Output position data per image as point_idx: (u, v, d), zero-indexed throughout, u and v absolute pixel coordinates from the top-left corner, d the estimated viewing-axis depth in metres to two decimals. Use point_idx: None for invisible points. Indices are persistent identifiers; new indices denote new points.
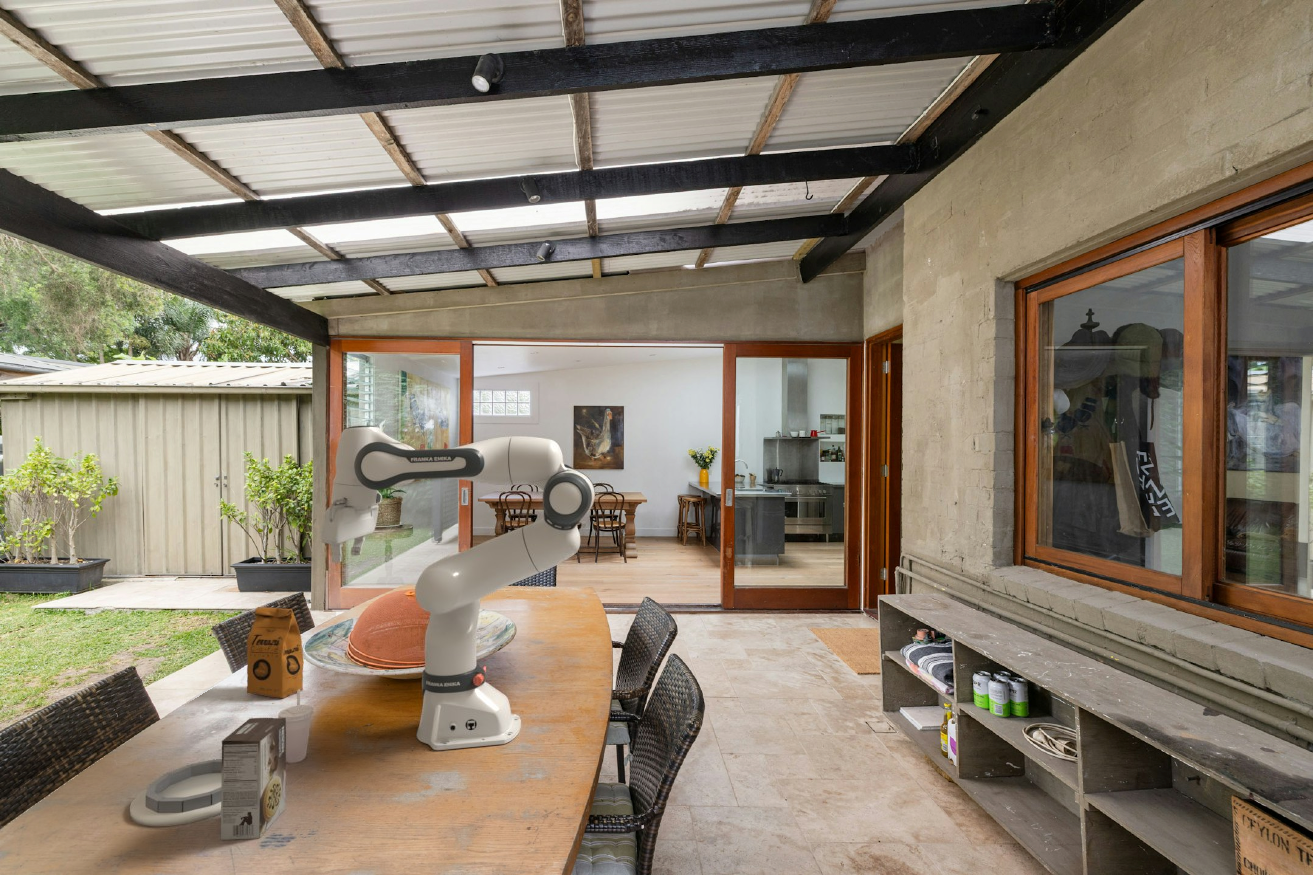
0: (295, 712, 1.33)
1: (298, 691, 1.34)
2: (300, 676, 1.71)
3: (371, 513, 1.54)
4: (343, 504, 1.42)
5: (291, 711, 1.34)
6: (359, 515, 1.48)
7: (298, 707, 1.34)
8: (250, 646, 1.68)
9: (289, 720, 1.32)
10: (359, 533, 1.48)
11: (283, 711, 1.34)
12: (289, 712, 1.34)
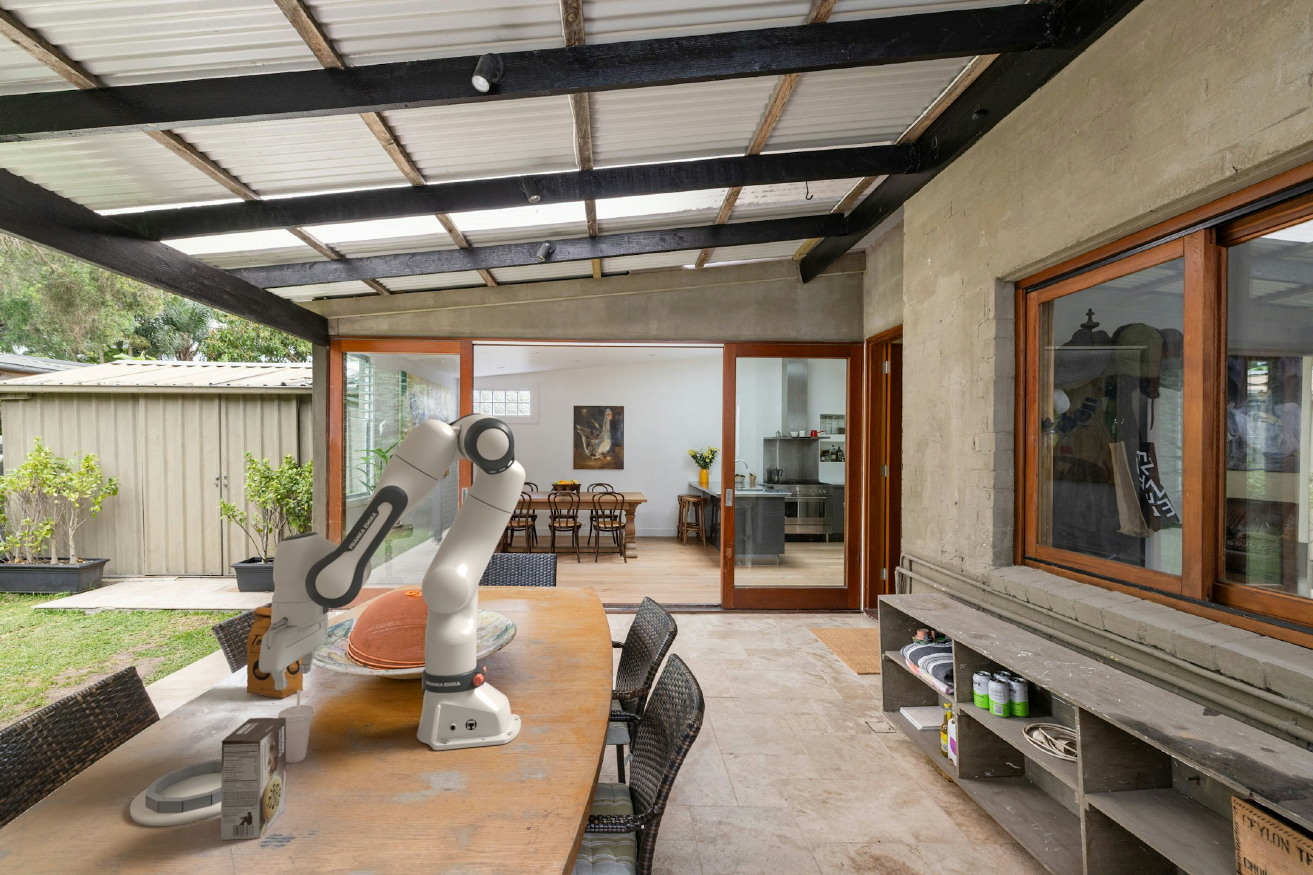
0: (295, 712, 1.33)
1: (298, 691, 1.34)
2: (300, 676, 1.71)
3: (320, 624, 1.42)
4: (283, 625, 1.29)
5: (291, 711, 1.34)
6: (304, 631, 1.35)
7: (298, 707, 1.34)
8: (250, 646, 1.68)
9: (289, 720, 1.32)
10: (306, 651, 1.36)
11: (283, 711, 1.34)
12: (289, 712, 1.34)
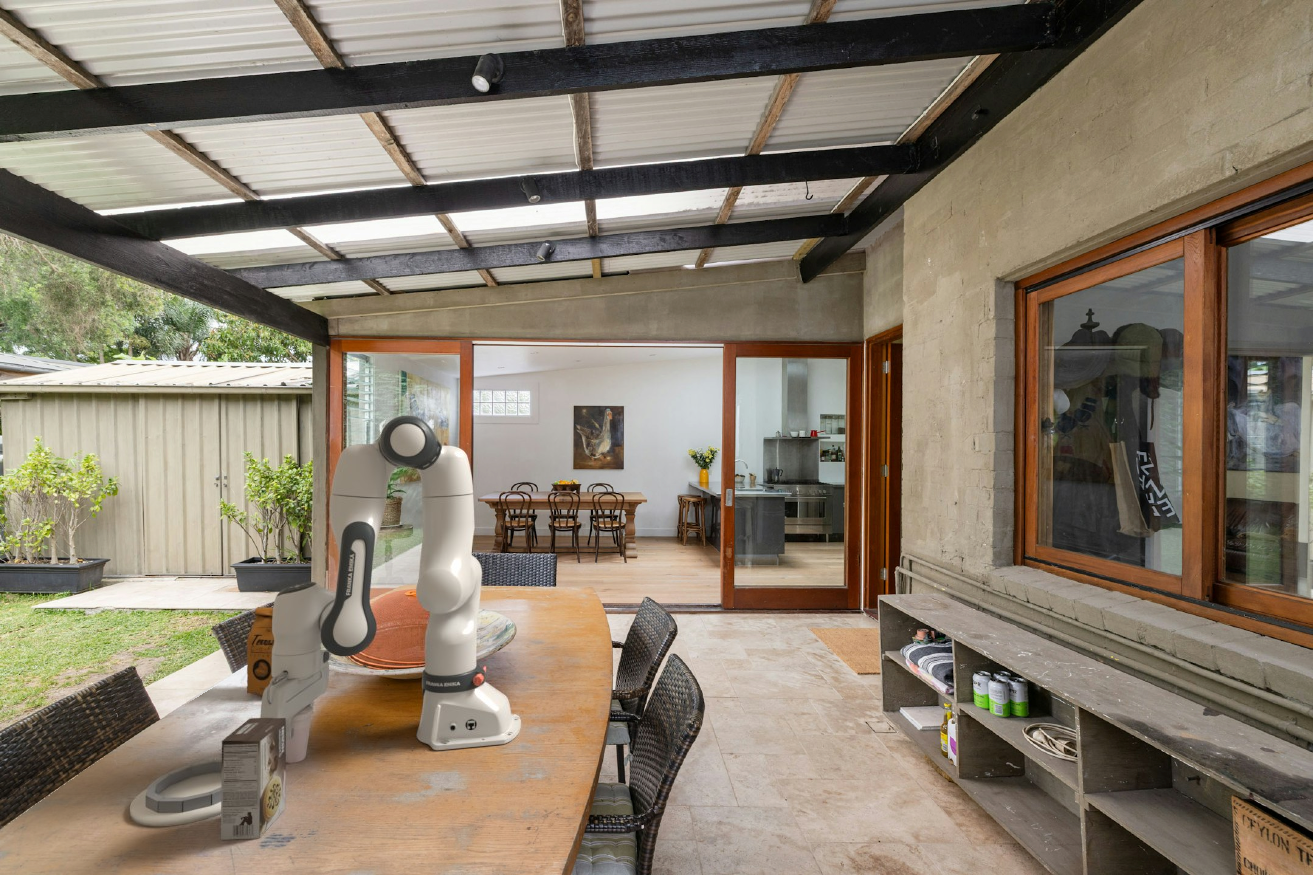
0: None
1: None
2: None
3: (321, 672, 1.42)
4: (283, 679, 1.29)
5: None
6: (305, 682, 1.35)
7: None
8: (250, 646, 1.68)
9: None
10: (307, 701, 1.36)
11: None
12: None
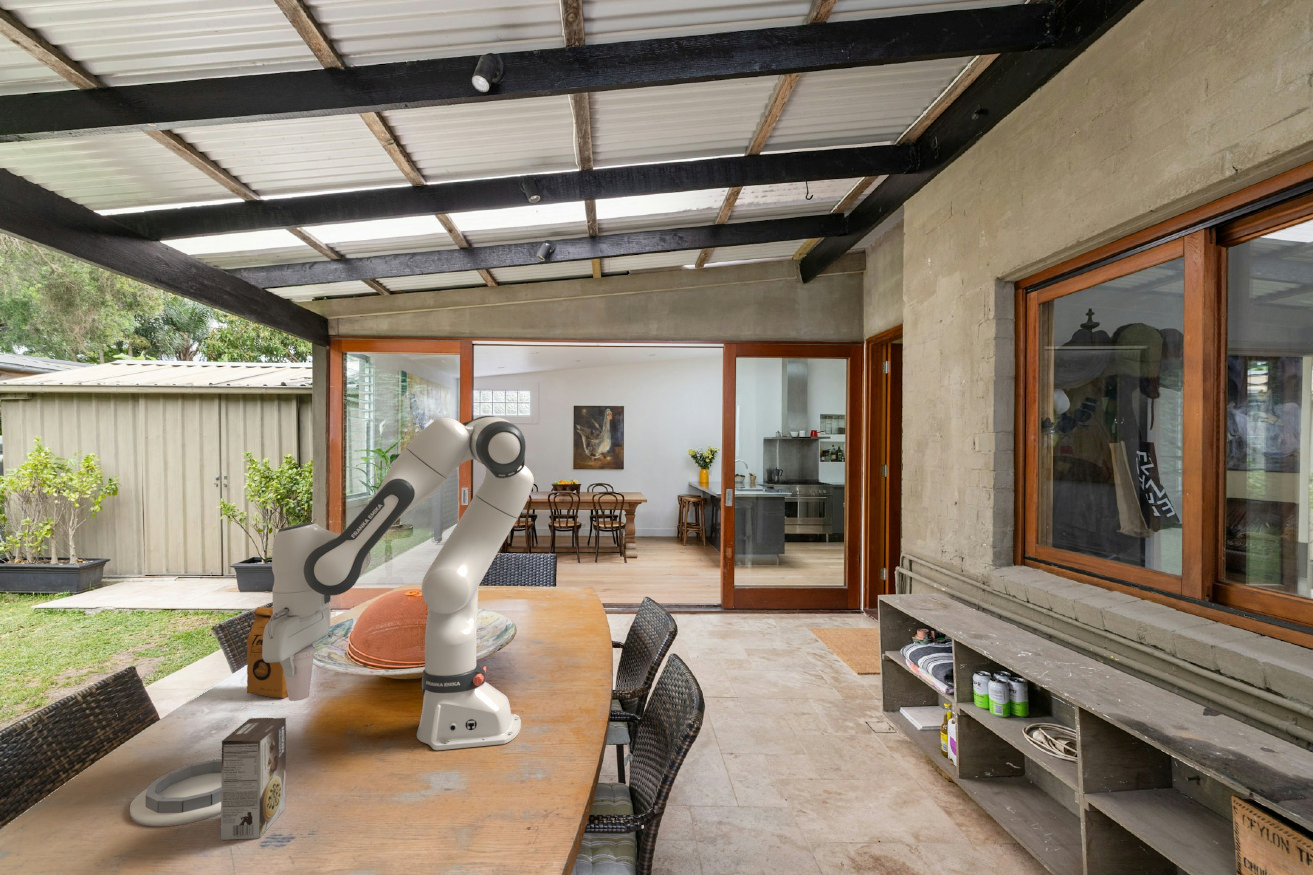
0: None
1: None
2: None
3: (322, 614, 1.42)
4: (284, 615, 1.29)
5: None
6: (306, 621, 1.35)
7: None
8: (250, 646, 1.68)
9: None
10: (309, 640, 1.36)
11: None
12: None
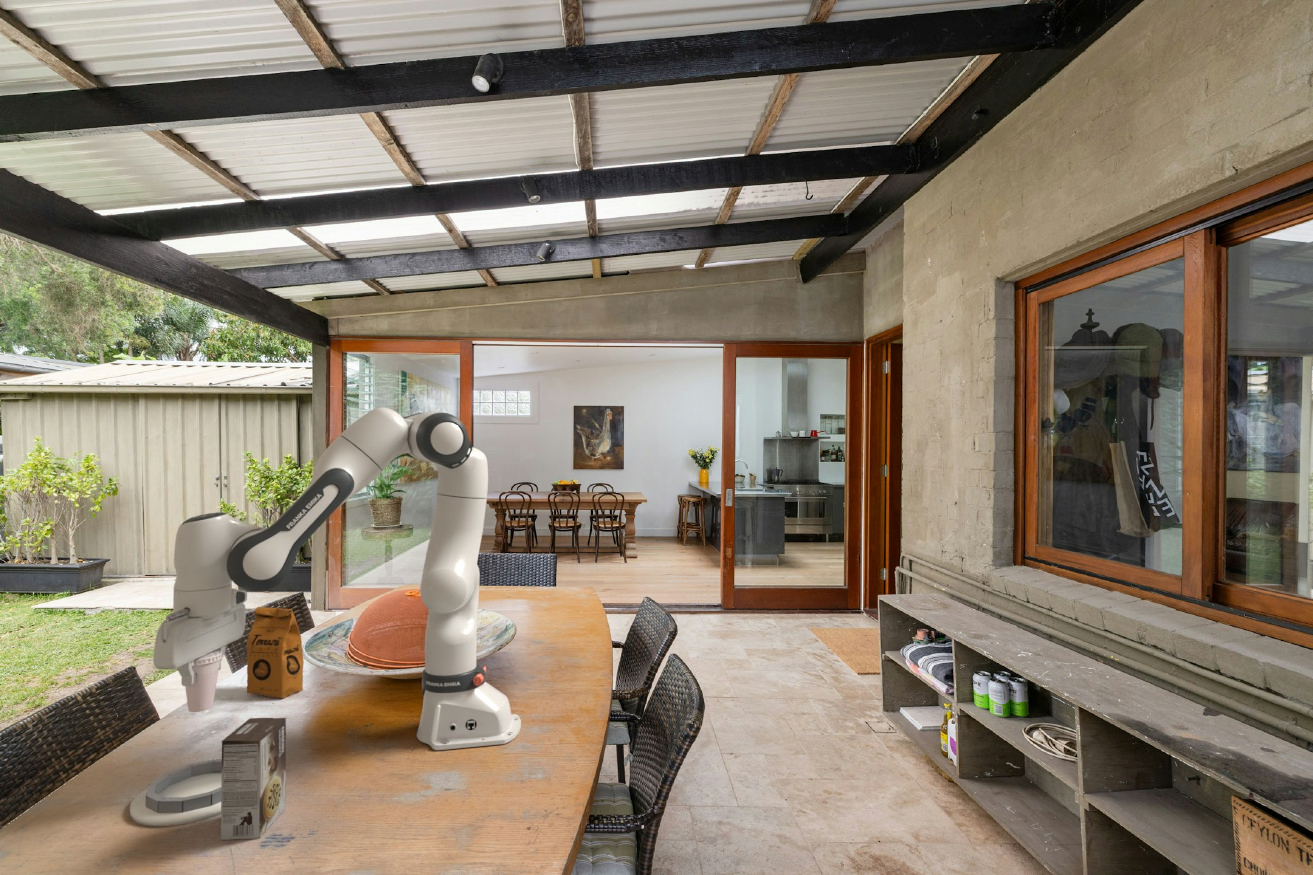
0: None
1: None
2: (300, 676, 1.71)
3: (235, 615, 1.28)
4: (184, 616, 1.15)
5: None
6: (213, 623, 1.21)
7: None
8: (250, 646, 1.68)
9: None
10: (215, 645, 1.22)
11: None
12: None
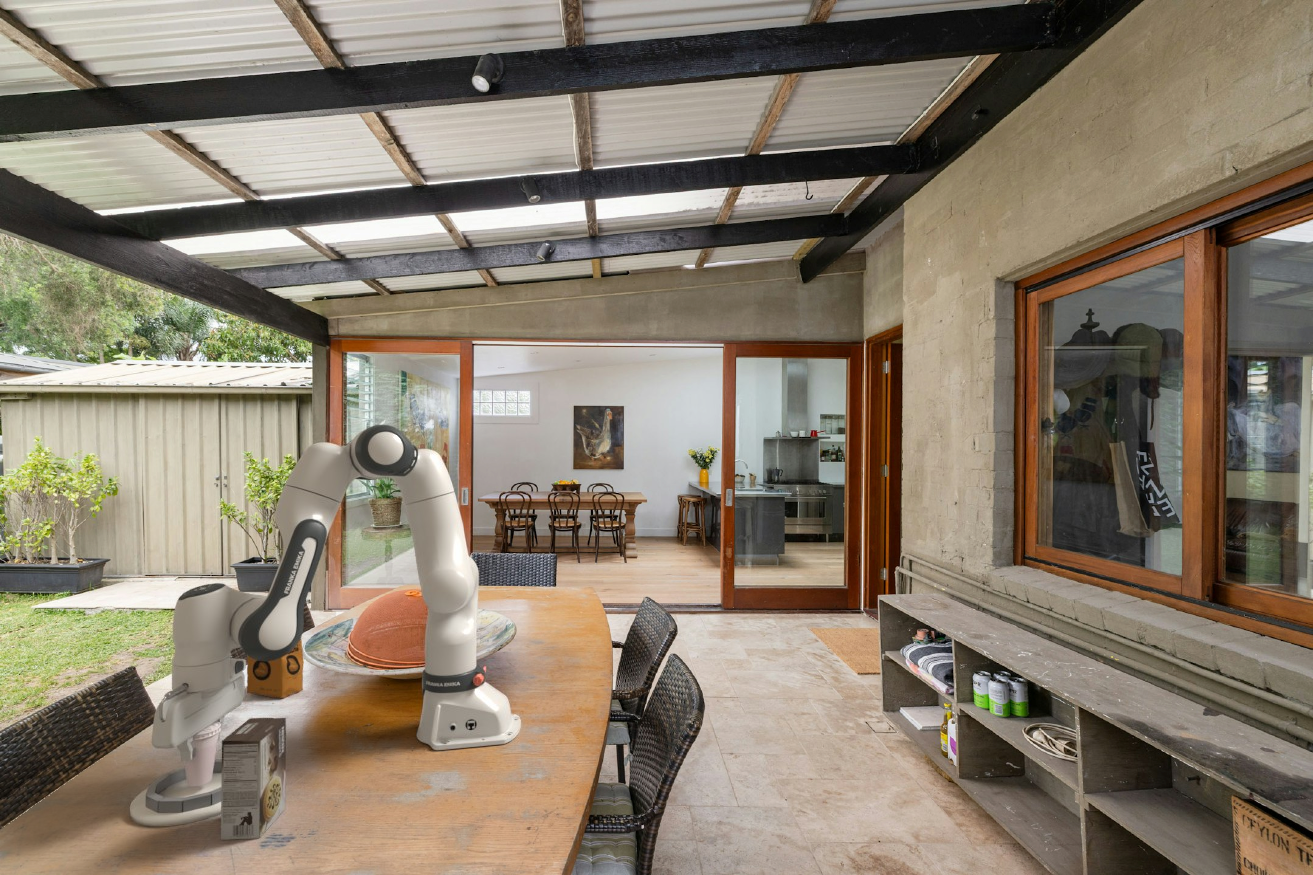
0: None
1: None
2: (300, 676, 1.71)
3: (234, 684, 1.27)
4: (182, 692, 1.15)
5: None
6: (212, 696, 1.21)
7: None
8: None
9: None
10: (214, 717, 1.21)
11: None
12: None
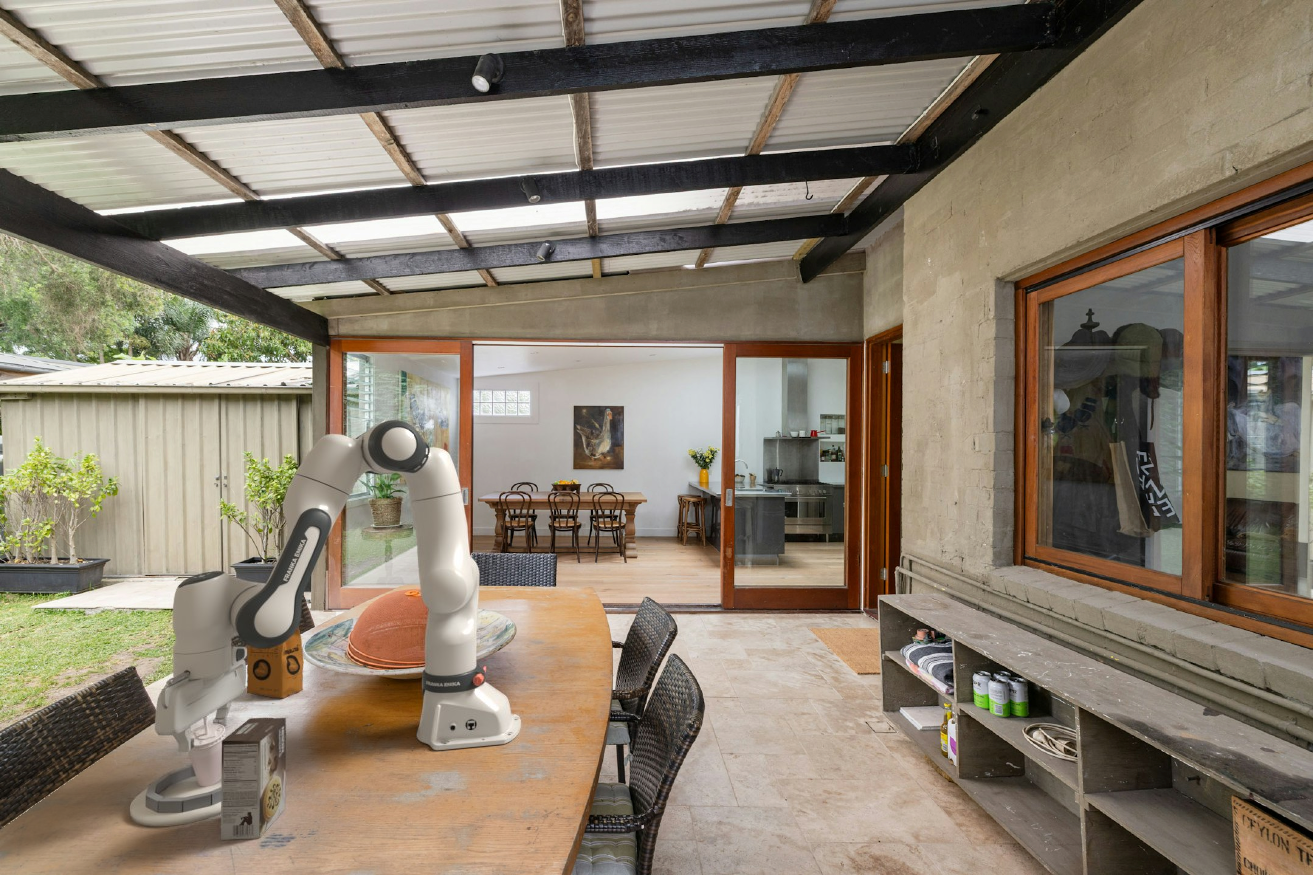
0: (203, 737, 1.20)
1: None
2: (300, 676, 1.71)
3: (235, 672, 1.27)
4: (184, 679, 1.15)
5: (199, 735, 1.20)
6: (213, 683, 1.21)
7: (206, 731, 1.20)
8: (250, 646, 1.68)
9: (195, 748, 1.18)
10: (217, 705, 1.21)
11: (190, 734, 1.21)
12: (196, 736, 1.20)
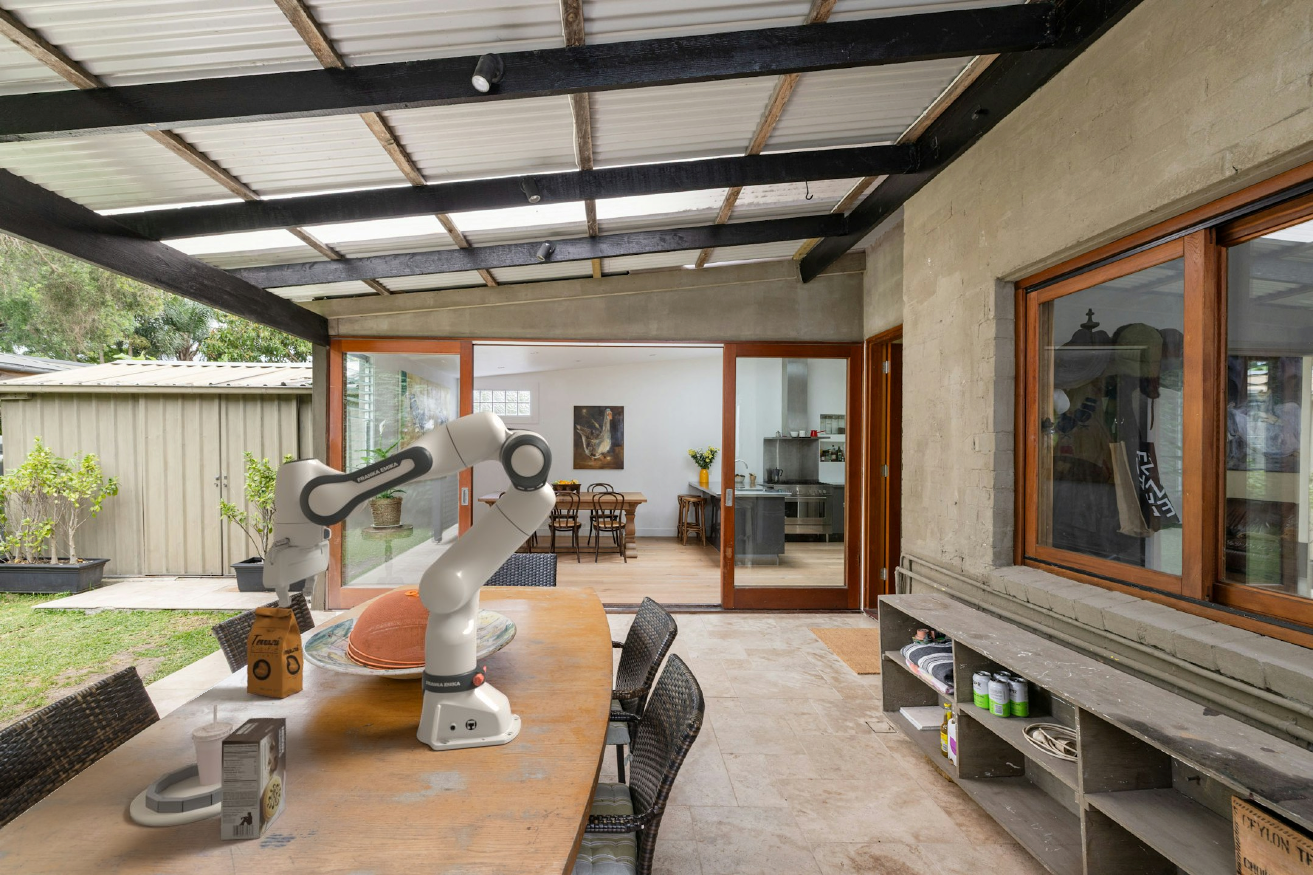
0: (211, 730, 1.22)
1: (215, 707, 1.23)
2: (300, 676, 1.71)
3: (321, 550, 1.46)
4: (285, 544, 1.33)
5: (207, 729, 1.23)
6: (306, 554, 1.40)
7: (215, 724, 1.23)
8: (250, 646, 1.68)
9: (203, 739, 1.21)
10: (308, 573, 1.40)
11: (199, 729, 1.24)
12: (205, 730, 1.23)
